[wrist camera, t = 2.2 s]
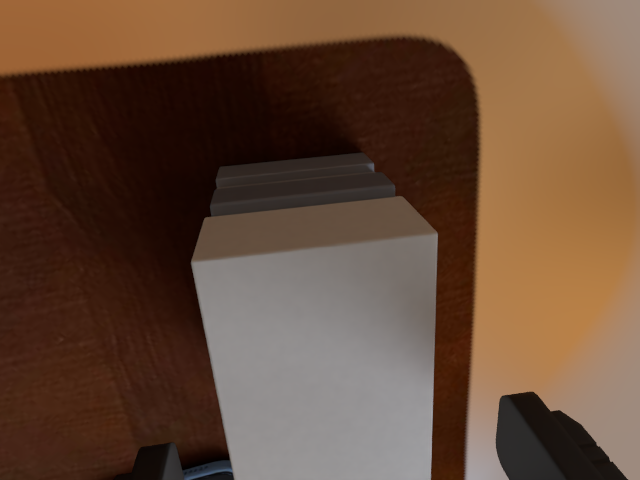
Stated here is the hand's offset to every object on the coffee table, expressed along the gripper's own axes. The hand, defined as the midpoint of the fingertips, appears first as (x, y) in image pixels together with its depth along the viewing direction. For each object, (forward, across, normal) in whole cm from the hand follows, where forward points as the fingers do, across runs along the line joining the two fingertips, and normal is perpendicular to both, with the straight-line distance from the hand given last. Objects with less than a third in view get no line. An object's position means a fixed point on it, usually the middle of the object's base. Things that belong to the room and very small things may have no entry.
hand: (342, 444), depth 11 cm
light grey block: (+4, 0, 0) cm, 4 cm away
